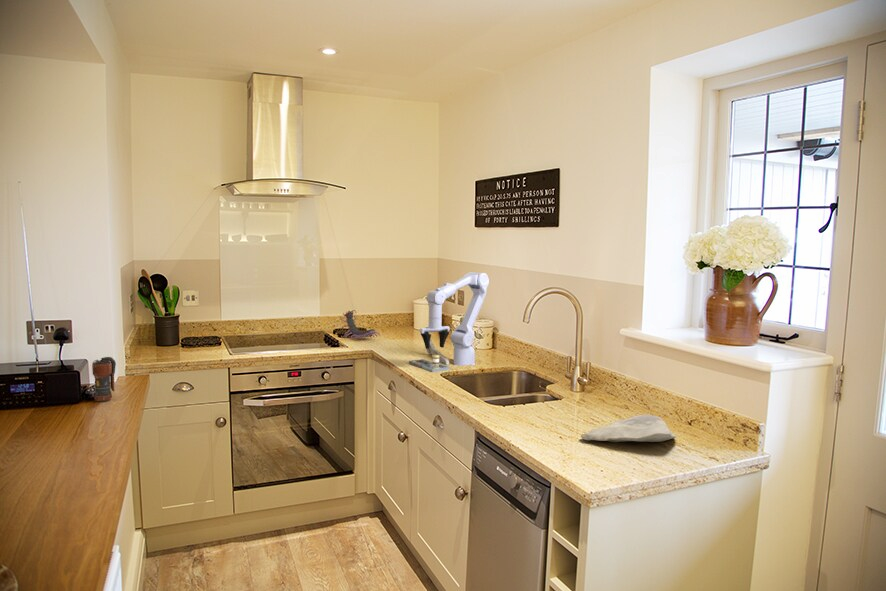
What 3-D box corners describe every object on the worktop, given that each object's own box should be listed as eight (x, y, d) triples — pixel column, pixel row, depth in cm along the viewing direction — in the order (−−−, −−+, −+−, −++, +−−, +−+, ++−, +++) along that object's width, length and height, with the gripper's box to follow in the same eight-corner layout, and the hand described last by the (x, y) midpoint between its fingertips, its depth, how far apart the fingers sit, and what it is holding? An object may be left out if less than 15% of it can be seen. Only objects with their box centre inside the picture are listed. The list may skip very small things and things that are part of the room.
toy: (353, 331, 356) (356, 307, 353) (379, 347, 339) (383, 322, 335) (335, 333, 348) (338, 308, 344) (361, 350, 330) (365, 324, 327)
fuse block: (423, 363, 283) (423, 358, 283) (435, 367, 275) (435, 363, 274) (408, 365, 279) (408, 360, 278) (420, 369, 270) (420, 365, 270)
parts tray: (438, 367, 275) (438, 363, 275) (449, 371, 268) (449, 367, 267) (421, 369, 270) (421, 365, 270) (432, 373, 263) (432, 369, 262)
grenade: (120, 398, 215) (119, 357, 214) (99, 403, 209) (97, 361, 207) (111, 396, 218) (109, 355, 217) (89, 401, 212) (87, 358, 210)
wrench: (445, 372, 278) (424, 352, 305) (449, 372, 279) (428, 352, 306) (446, 356, 276) (425, 337, 304) (450, 355, 277) (428, 337, 304)
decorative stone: (695, 423, 174) (595, 435, 170) (698, 447, 174) (597, 459, 170) (650, 408, 202) (563, 418, 198) (652, 429, 202) (565, 439, 198)
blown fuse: (436, 368, 271) (436, 354, 270) (440, 370, 269) (440, 355, 268) (430, 369, 269) (430, 355, 269) (434, 370, 267) (434, 356, 266)
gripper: (443, 315, 275) (442, 344, 277) (416, 317, 267) (416, 347, 269) (452, 317, 270) (451, 347, 271) (425, 319, 261) (424, 350, 263)
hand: (434, 348), depth 269 cm, fingers open, 7 cm apart
